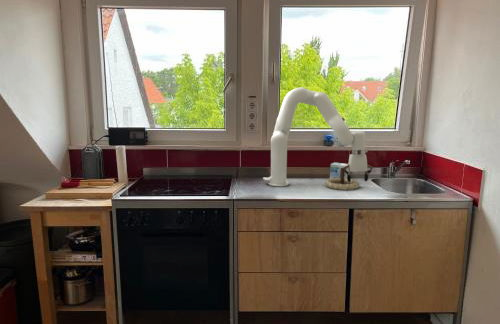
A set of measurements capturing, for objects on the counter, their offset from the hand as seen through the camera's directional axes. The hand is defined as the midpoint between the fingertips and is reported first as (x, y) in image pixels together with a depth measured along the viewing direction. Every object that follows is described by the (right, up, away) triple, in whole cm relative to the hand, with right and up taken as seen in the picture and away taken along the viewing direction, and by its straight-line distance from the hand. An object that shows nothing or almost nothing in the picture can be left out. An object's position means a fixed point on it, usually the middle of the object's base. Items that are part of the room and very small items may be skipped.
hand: (357, 181), depth 203 cm
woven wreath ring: (-9, -2, 0) cm, 9 cm away
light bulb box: (-6, -1, +16) cm, 17 cm away
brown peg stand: (-9, -3, +1) cm, 10 cm away
